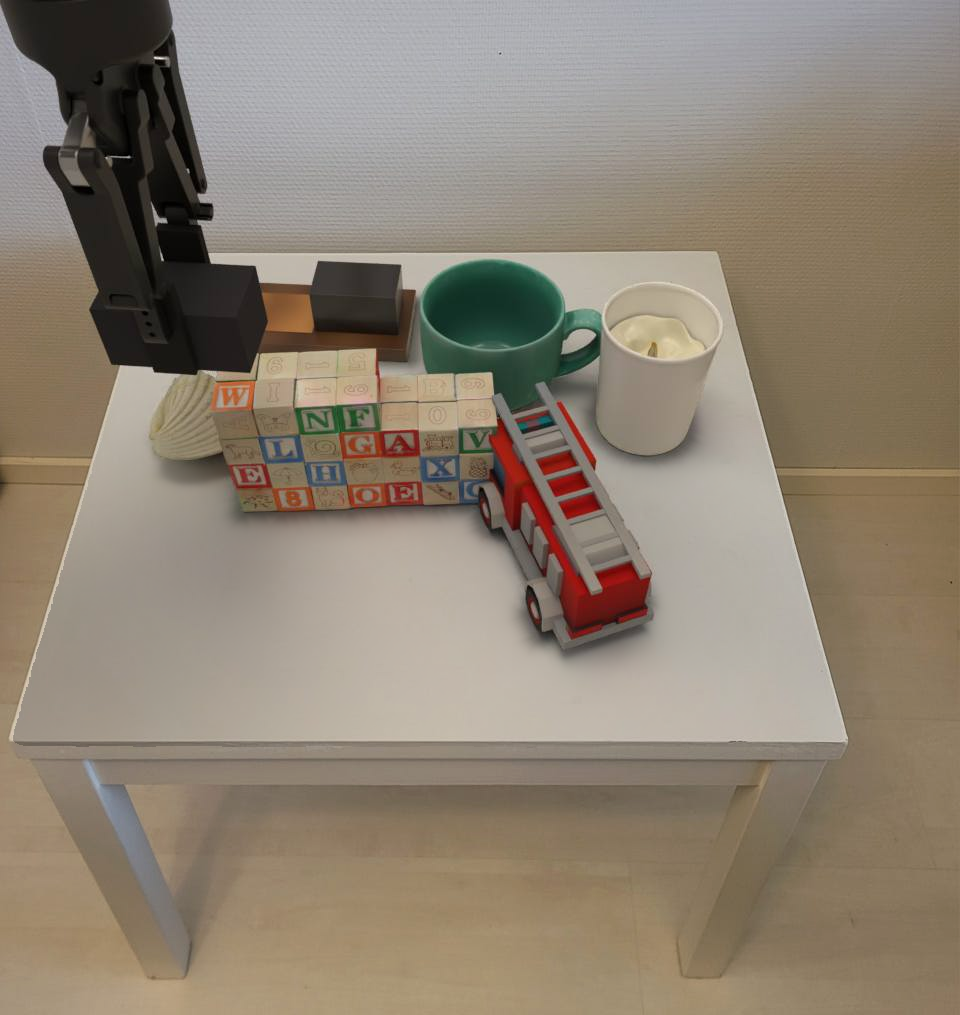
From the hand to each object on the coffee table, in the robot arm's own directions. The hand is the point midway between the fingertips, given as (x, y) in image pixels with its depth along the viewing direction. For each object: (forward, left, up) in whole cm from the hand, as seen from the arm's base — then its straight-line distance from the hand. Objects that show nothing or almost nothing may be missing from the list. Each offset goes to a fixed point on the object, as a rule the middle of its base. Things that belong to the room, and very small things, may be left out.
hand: (189, 338), depth 62 cm
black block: (0, 0, 0) cm, 0 cm away
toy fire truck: (+25, 0, -21) cm, 33 cm away
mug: (+21, +19, -21) cm, 35 cm away
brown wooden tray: (+1, +26, -21) cm, 33 cm away
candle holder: (+33, +15, -21) cm, 42 cm away
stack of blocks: (+9, +6, -21) cm, 24 cm away
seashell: (-6, +9, -21) cm, 24 cm away
